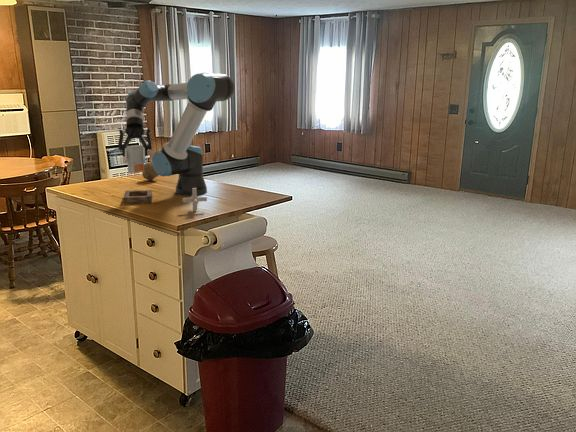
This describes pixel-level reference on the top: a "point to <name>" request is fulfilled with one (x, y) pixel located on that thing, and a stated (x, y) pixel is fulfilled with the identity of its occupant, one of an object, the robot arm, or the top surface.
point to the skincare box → (135, 158)
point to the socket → (137, 196)
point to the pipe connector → (194, 199)
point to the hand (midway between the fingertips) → (135, 161)
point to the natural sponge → (149, 171)
